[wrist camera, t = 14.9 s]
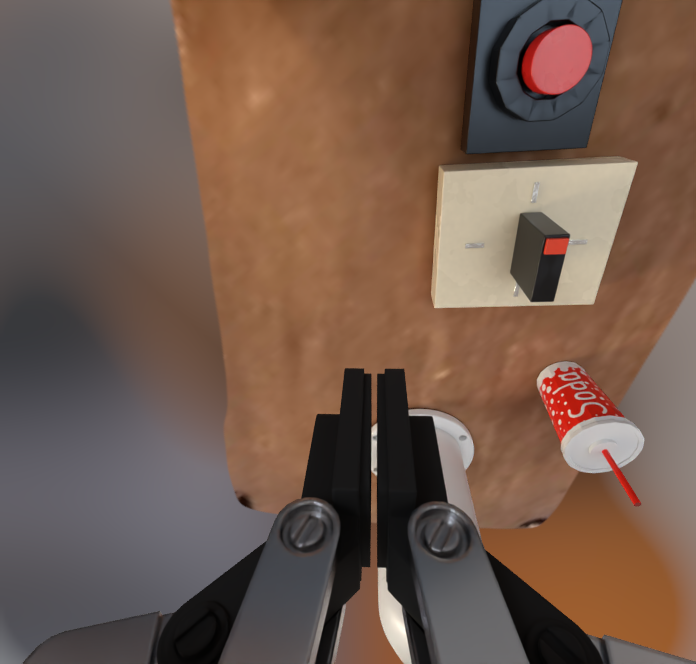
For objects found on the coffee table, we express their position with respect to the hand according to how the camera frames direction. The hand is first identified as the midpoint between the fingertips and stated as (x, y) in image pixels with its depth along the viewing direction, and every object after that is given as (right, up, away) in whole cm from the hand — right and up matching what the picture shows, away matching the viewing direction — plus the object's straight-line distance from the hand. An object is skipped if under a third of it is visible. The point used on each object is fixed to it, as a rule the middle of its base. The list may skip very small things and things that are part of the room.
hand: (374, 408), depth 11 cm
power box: (+11, +20, +15) cm, 27 cm away
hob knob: (+13, +9, +19) cm, 24 cm away
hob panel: (+13, +10, +21) cm, 27 cm away
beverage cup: (+21, -3, +29) cm, 36 cm away
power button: (+11, +18, +12) cm, 24 cm away
